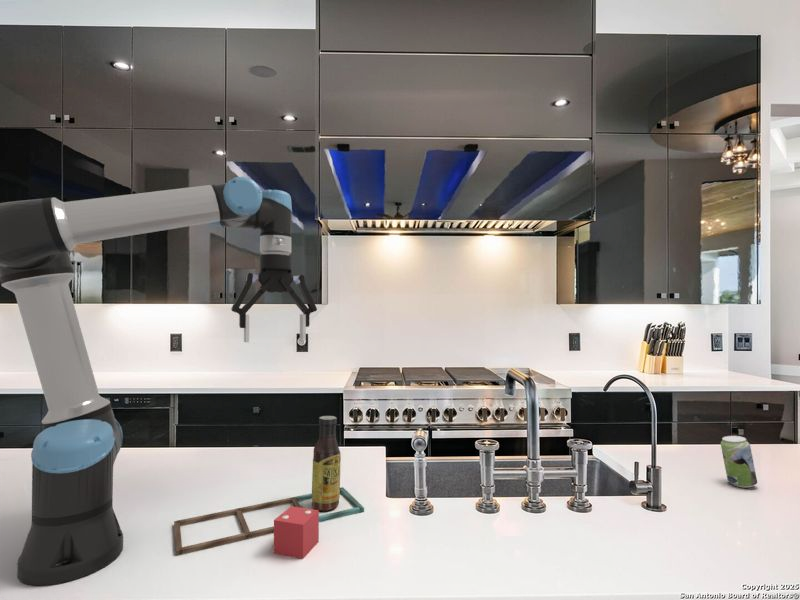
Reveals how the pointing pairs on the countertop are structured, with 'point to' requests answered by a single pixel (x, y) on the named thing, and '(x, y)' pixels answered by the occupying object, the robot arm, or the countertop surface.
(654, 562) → the countertop surface
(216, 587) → the countertop surface
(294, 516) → the red die
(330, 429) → the sauce bottle
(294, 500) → the brown flat rectangular frame
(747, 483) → the beverage can
